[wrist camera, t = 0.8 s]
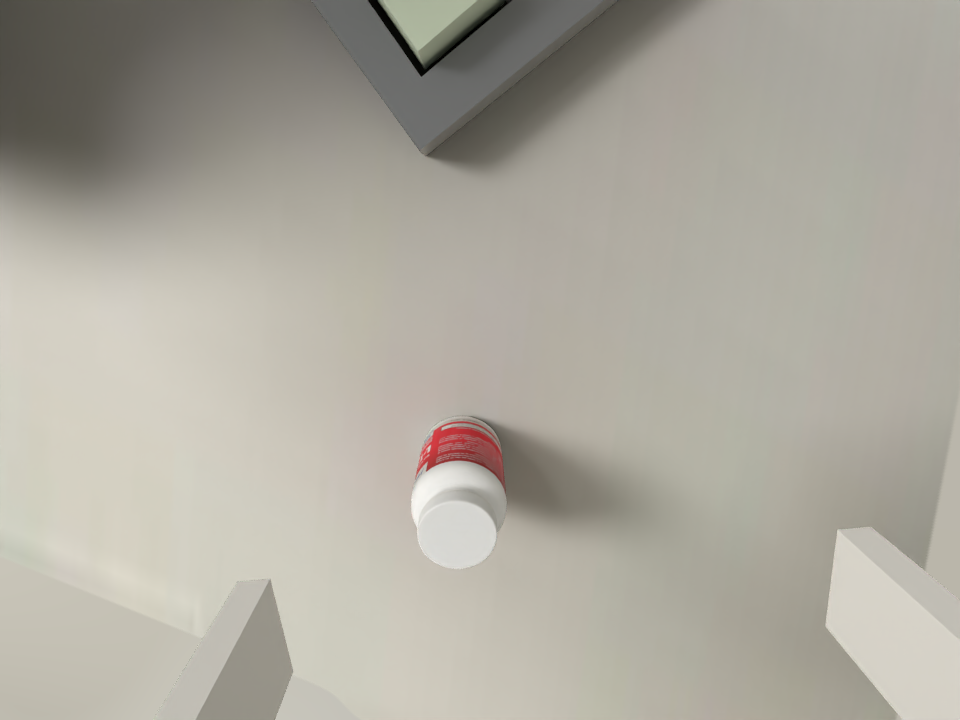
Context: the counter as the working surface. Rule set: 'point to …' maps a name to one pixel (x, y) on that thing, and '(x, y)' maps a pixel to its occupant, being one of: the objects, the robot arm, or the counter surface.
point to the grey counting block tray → (456, 60)
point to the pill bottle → (459, 493)
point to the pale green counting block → (436, 23)
